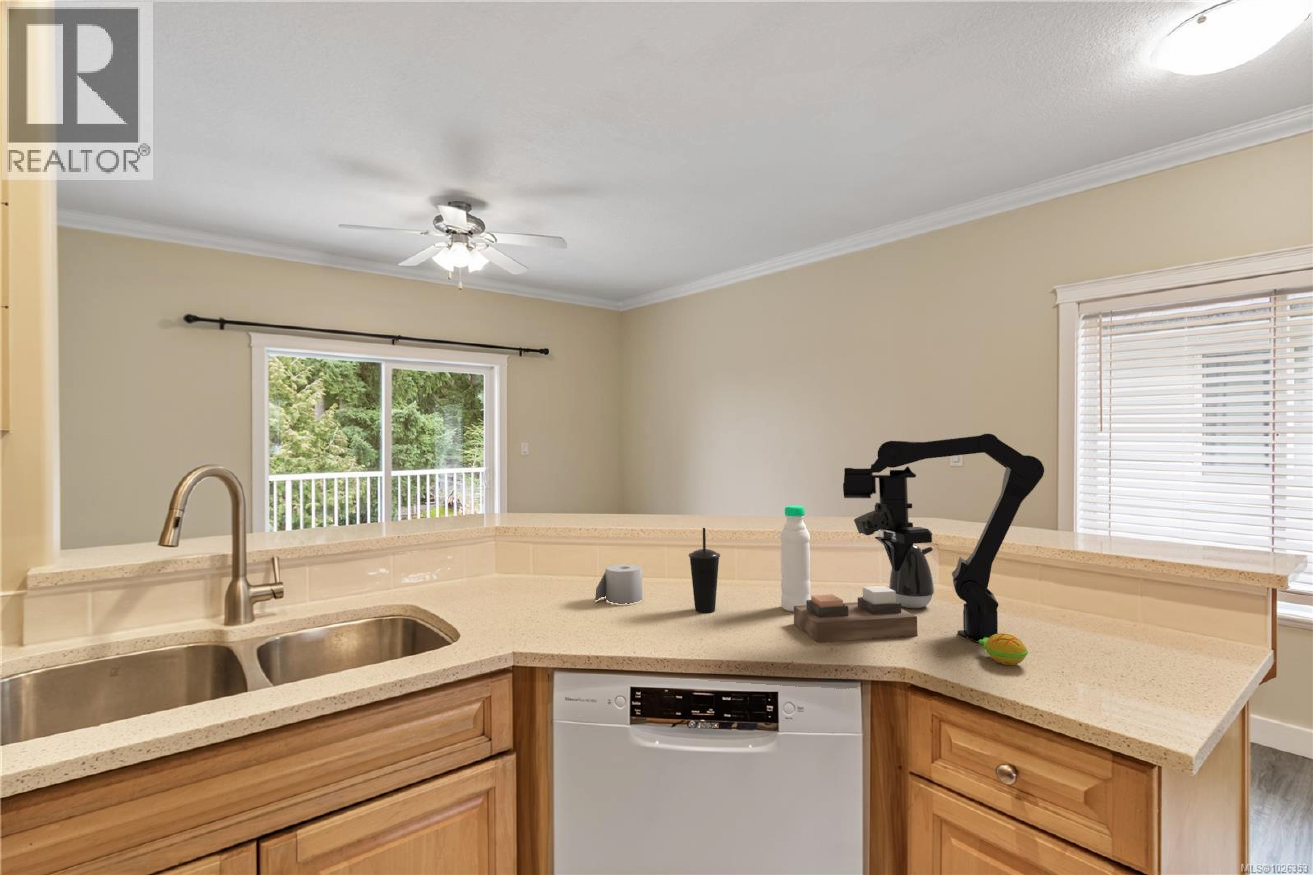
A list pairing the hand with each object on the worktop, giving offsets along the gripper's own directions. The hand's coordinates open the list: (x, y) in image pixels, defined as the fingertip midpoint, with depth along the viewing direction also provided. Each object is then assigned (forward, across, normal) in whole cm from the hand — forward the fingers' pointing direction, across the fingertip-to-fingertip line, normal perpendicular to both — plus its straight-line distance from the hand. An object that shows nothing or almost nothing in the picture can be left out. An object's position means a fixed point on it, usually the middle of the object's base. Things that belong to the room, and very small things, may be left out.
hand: (896, 570), depth 135 cm
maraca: (+13, +21, +8) cm, 26 cm away
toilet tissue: (+12, -36, -57) cm, 68 cm away
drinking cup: (+12, -23, -37) cm, 45 cm away
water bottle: (+12, -20, -15) cm, 28 cm away
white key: (+7, -2, -3) cm, 8 cm away
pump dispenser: (+13, -17, +14) cm, 25 cm away
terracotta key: (+8, -2, -15) cm, 17 cm away
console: (+12, -2, -9) cm, 16 cm away
